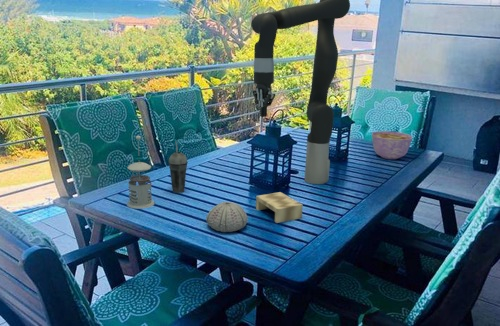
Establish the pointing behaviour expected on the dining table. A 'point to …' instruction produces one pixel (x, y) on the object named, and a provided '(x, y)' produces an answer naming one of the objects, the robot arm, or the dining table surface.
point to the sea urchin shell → (227, 217)
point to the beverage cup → (178, 171)
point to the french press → (139, 186)
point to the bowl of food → (391, 144)
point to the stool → (280, 206)
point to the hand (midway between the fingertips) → (263, 116)
